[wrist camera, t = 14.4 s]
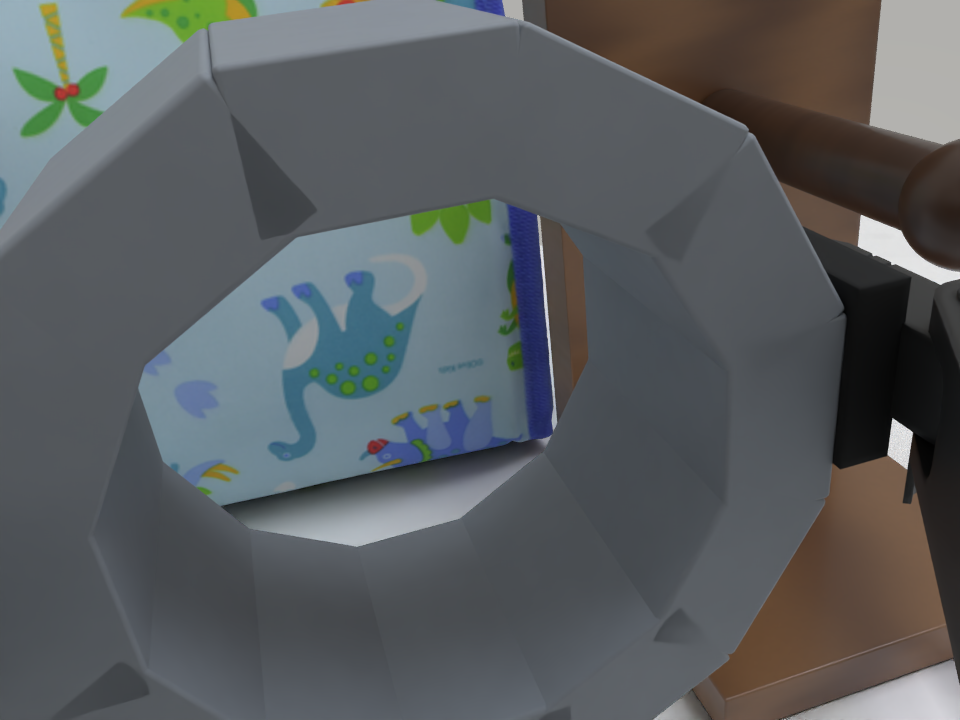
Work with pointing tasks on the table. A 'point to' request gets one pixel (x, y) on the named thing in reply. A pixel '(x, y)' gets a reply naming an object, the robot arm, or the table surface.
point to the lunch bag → (300, 289)
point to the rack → (836, 215)
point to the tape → (505, 512)
